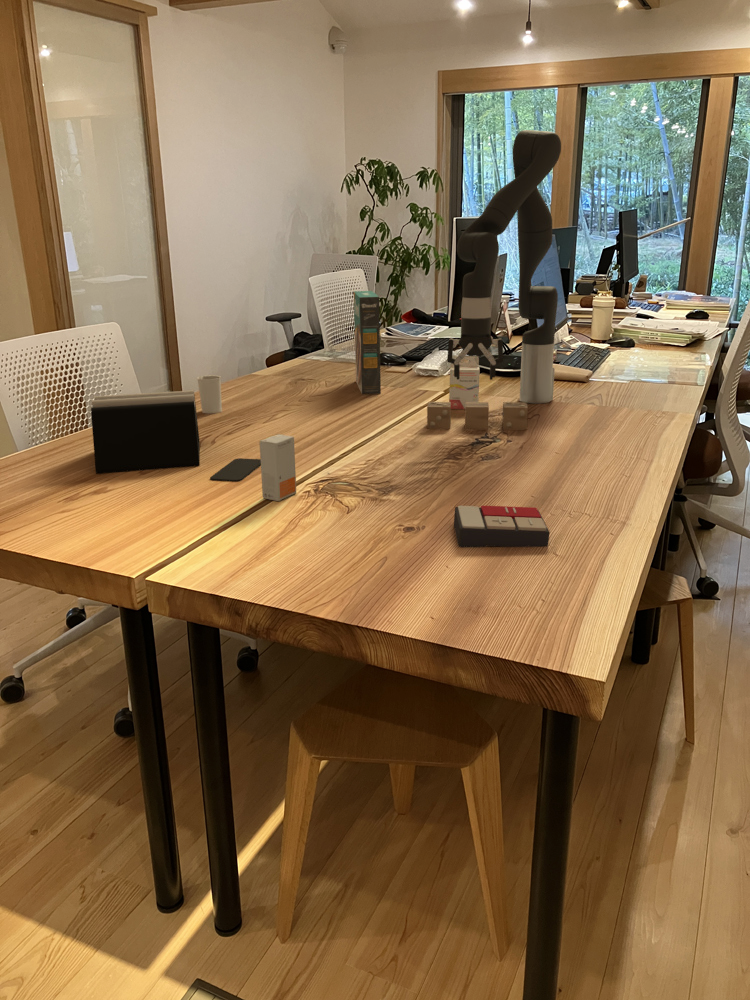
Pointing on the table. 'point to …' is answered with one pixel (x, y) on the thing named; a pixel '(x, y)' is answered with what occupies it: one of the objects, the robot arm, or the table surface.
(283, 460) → the skincare box
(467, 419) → the plain walnut cube
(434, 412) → the three pip cube
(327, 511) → the table surface
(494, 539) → the button keypad
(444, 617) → the table surface
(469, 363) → the ink cartridge box
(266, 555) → the table surface
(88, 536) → the table surface
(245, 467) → the phone
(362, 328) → the cake mix box
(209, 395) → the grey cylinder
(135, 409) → the device stand
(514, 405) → the two pip cube
